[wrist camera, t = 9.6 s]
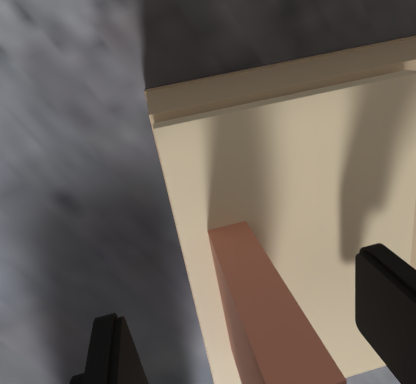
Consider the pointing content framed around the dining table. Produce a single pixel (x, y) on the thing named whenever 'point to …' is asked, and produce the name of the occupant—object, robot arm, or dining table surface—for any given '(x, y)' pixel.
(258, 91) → the carton
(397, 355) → the robot arm
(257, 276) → the flap
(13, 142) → the dining table surface
